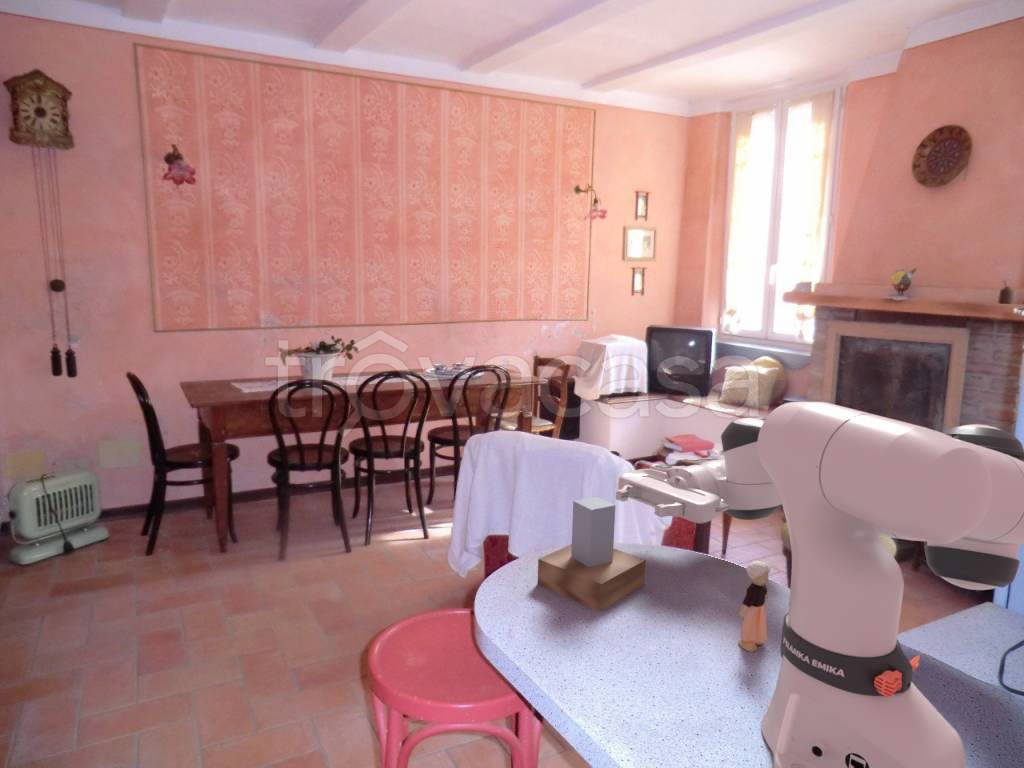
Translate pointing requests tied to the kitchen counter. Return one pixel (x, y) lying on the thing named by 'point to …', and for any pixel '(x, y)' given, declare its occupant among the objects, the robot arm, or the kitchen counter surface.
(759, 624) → the grandmother figurine
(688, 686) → the kitchen counter surface
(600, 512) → the slate pillar block
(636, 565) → the walnut block
